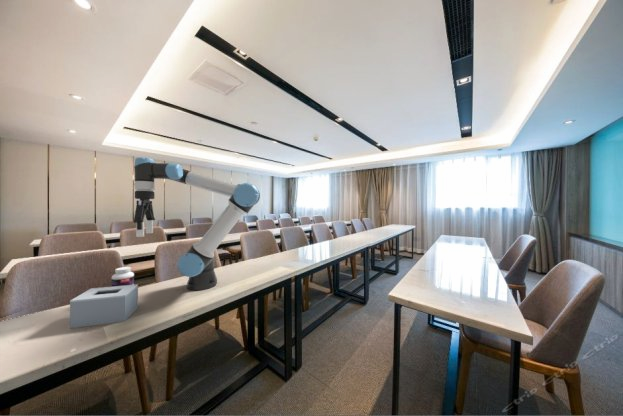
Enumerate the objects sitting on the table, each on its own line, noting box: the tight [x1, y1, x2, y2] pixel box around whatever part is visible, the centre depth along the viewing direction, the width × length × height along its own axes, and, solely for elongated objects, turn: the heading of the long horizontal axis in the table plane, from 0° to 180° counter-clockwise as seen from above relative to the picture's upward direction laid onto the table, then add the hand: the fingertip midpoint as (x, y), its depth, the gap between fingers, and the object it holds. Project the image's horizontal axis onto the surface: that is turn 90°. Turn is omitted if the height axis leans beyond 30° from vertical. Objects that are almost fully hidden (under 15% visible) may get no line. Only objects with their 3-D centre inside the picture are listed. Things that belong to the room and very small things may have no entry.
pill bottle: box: [110, 266, 135, 287], centre depth 102 cm, size 8×8×14 cm
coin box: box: [69, 283, 139, 329], centre depth 85 cm, size 16×12×10 cm
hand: (145, 235), depth 103 cm, fingers open, 13 cm apart
